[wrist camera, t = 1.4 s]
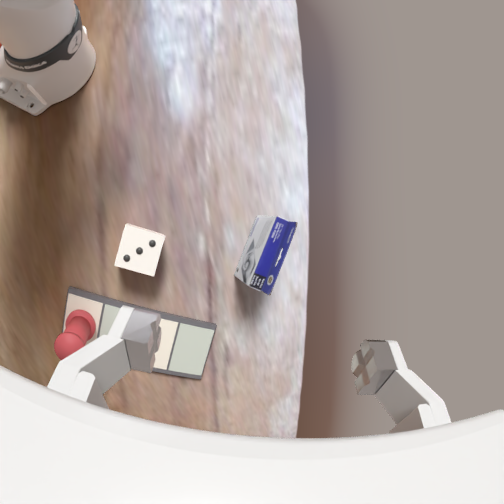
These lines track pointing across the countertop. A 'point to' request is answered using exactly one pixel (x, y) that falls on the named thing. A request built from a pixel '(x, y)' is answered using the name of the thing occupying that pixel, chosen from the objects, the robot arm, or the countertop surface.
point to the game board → (172, 333)
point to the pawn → (75, 333)
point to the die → (139, 249)
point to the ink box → (265, 252)
